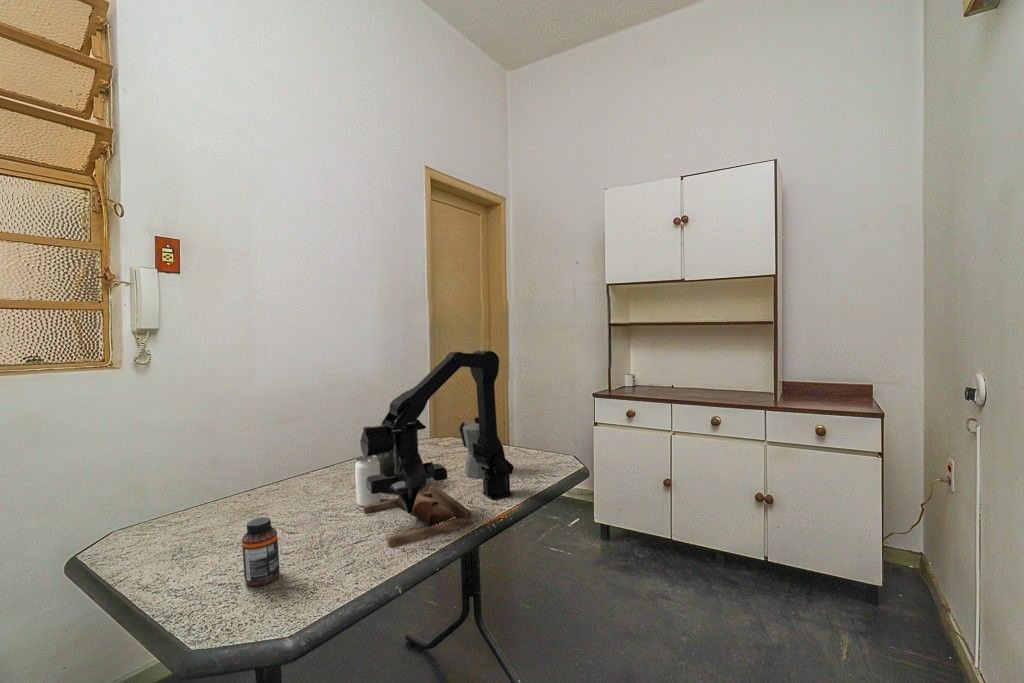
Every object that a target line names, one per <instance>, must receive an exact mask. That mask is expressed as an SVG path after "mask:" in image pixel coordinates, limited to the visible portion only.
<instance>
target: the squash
mask: <svg viewBox="0 0 1024 683" xmlns="http://www.w3.org/2000/svg"><path fill="white" fill-rule="evenodd" d="M393 453H394V447H393V450H391V451H390V452H389V453H385V454H380V455H374V456H377V457H378V461H379V462H380V474H383V475H384V476H386V477H392V476H395V473H394V469H395V457H394V454H393ZM420 460H421V462H422V464H423V460H422V458H421V456H420ZM388 490H389V491H390V492H395V491H394V490H393V489H392V488H391V486H390V485H389V488H388ZM388 490H387V491H386V492H388Z"/></svg>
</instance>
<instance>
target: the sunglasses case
mask: <svg viewBox="0 0 1024 683" xmlns="http://www.w3.org/2000/svg"><path fill="white" fill-rule="evenodd" d="M418 494H419V493H418ZM418 494H417V496H416V499H415V503H414V506H413V509H412V512H411V513H410V514H413V515H414V516H416V517H417V518H419V519H420V520H422V521H423V522H425V523H427V525H429V526H432V525H436V524H439V523H441V522H443V523H445V522H444V521H446V522H448V521H447V520H449V519H451V518H453V517H455V515H454V513H453V512H452V511H450V510H449V509H447V508H446V507H444V506H442V505H441V504H439V503H438V501H436V500H434V499H432V498H429V497H425V496H422V495H418ZM397 505H398V506H397V507H398V508H401V509H403V510H406V509H405V506H404V504H403V502H402V499H401V497H400V495H399V497H398V500H397ZM449 521H450V520H449Z"/></svg>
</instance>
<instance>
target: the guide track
mask: <svg viewBox="0 0 1024 683" xmlns="http://www.w3.org/2000/svg"><path fill="white" fill-rule="evenodd" d="M428 489H429V491H424V492H421V493H418V495H422V496H425V497H429V498H432V499H434V500H436V501H438V503H439V504H441V505H442V506H444V507H446V508H447V509H449V510H450V511H452V512H453V513H454V515H455V517H456V518H455V519H452V520H449V521H446V522H443V523H441V524H437V525H433V526H432V525H429V526H426V527H423V528H419V529H414V530H410V531H407V532H403V533H399V534H396V535H391V536H388V537H386V543H387V544H388V545H387V544H386V545H387V546H388V548H390V546H391V547H393V546H394V545H395V546H397V545H398V546H399V545H401V543H402V544H405V542H406V543H409V542H413V541H417V540H420V539H423V537H424V538H427V536H428V537H431V536H434V535H433V534H435V535H438V534H437V533H439V534H442V532H443V533H446V532H450V531H454V530H456V528H457V529H461V528H463V527H464V526H465V527H467V525H468V526H471V525H474V524H475V520H474V518H475V517H473V516H472V511H471V510H469V509H468V508H467V507H465V505H462V504H461V503H460V502H459V501H457V500H456V499H454V498H453V497H452V496H450V495H449V494H448V493H446V492H445V491H444V490H442V489H440V487H438V486H437V485H435V484H432V485H429V488H428ZM398 498H399V497H398ZM398 498H393V499H388V500H385V501H380V502H379V503H375V504H370V505H366V506H362V509H363V511H362V512H363V513H364V514H365V513H366V514H368V513H369V514H370V513H373V512H378V510H379V511H383V510H387V509H391V507H392V508H396V507H399V506H398V505H397V500H398ZM395 506H396V507H395ZM453 529H454V530H453ZM449 530H450V531H449ZM430 535H431V536H430ZM416 539H417V540H416ZM412 540H413V541H412Z"/></svg>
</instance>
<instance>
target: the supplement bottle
mask: <svg viewBox="0 0 1024 683" xmlns="http://www.w3.org/2000/svg"><path fill="white" fill-rule="evenodd" d="M271 521H272V520H271V518H270V517H267V516H261V517H256V518H253V519H250V520H248V522H247V523H246V530H247V531H246V533H244V535H243V536H242V539H241V543H242V544H241V547H242V557H243V558H242V559H243V573H244V574H243V575H244V581H245V584H246V585H248V586H250V587H258V586H264V585H267V584H269V583H271V582H273V581H274V580H276V579H277V578H278V577H279V575H280V572H281V571H280V556H279V543H278V542H279V541H278V540H279V539H278V532H277V531H278V530H277V529H276V528H275V527H273V526H272V522H271Z"/></svg>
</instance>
